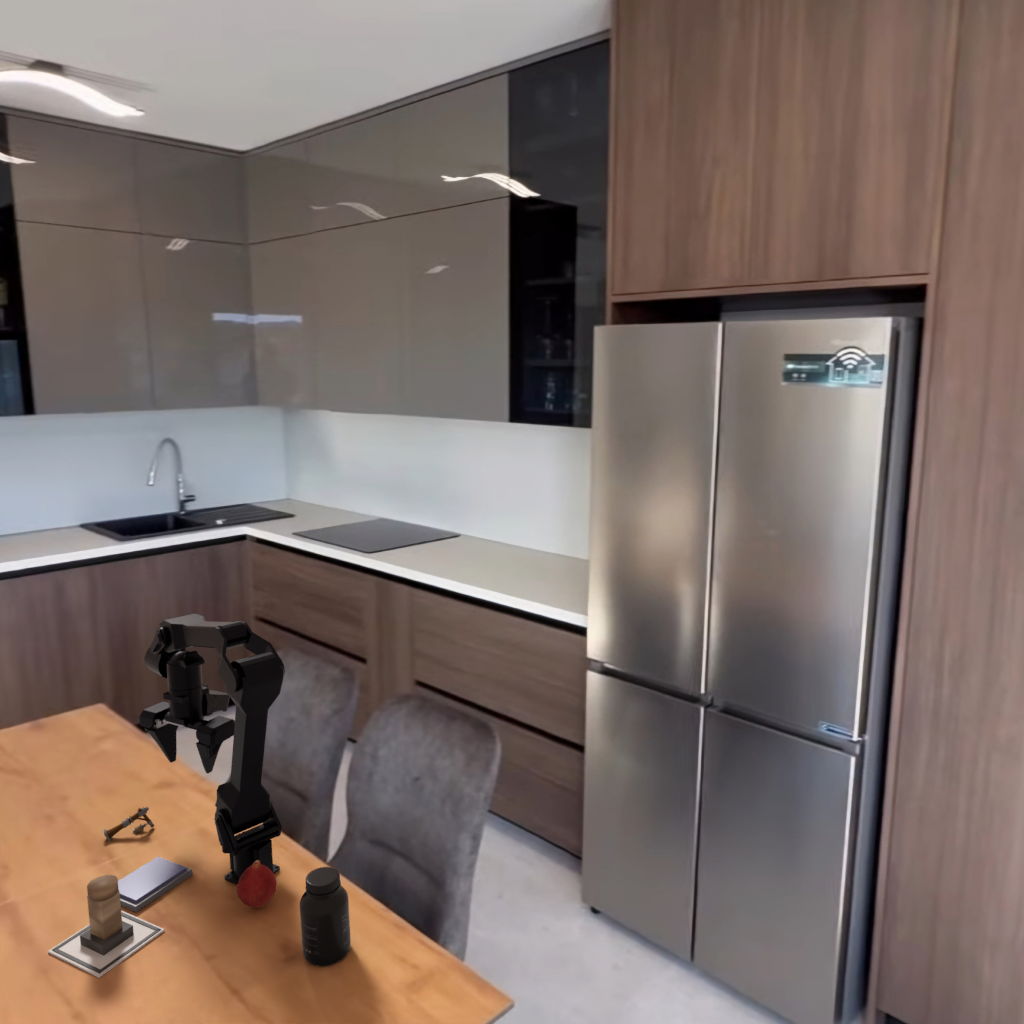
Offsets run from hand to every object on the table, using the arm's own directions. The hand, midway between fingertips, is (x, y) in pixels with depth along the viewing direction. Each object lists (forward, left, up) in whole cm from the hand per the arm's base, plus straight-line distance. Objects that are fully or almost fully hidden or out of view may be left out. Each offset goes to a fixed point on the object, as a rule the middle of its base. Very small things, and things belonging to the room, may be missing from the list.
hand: (190, 766), depth 150 cm
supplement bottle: (-43, +15, -12) cm, 47 cm away
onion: (-27, +12, -12) cm, 32 cm away
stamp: (-13, +28, -12) cm, 33 cm away
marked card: (-13, +28, -12) cm, 33 cm away
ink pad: (-7, +16, -12) cm, 21 cm away
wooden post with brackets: (+9, +7, -12) cm, 17 cm away
